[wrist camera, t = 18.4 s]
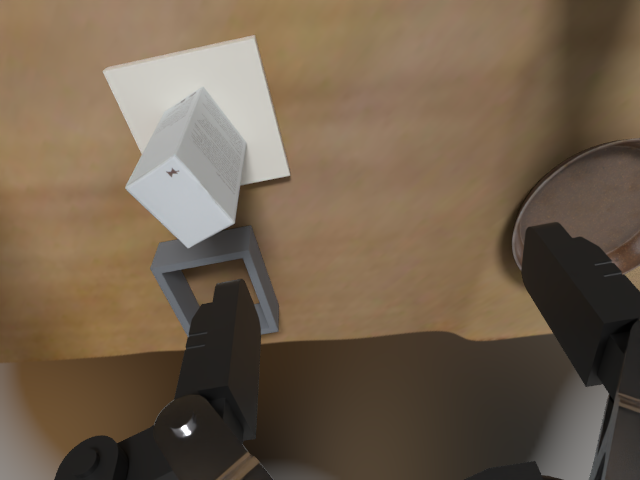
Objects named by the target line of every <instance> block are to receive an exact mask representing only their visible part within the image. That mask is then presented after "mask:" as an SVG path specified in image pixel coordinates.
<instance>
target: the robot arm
mask: <svg viewBox="0 0 640 480" xmlns="http://www.w3.org/2000/svg"><path fill="white" fill-rule="evenodd" d="M521 270H522V278H523V282H524V285H525V287H526V289H527V291H528V293H529V294H530V296H531V298H532V299H533V301H534V303H535V304H536V306H537V307H538V309H539V311H540V312H541V314H542V316H543V317H544V319H545V321H546V322H547V324H548V325H549V327H550V329H551V330H552V332H553V334H554V335H555V337H556V338H557V340H558V342H559V343H560V345H561V347H562V348H563V350H564V352H565V353H566V355H567V356H568V358H569V360H570V361H571V363H572V365H573V366H574V368H575V370H576V371H577V373H578V374H579V376H580V378H581V379H582V381H583V383H584V384H585V386H586V387H587V386H594V385H601V384H603V385H604V386H605V388H606V390H607V391H608V393H609V395H608V398H607V402H606V407H605V411H604V415H603V420H602V425H601V429H600V434H599V439H598V444H597V448H596V453H595V458H594V462H593V466H592V470H591V473H590V477H589V480H640V291H639V290H638V289H637V288H636V287H635V286H634V285H633V284H632V283H631V281H630V280H629V279H628V278H627V277H626V276H625V275H624V274H623V275H622V271H621V270H620V269H619V268H618V267H617V266H616V265H615V263H612V260H611V259H610V258H609V257H608V256H607V255H606V253H605V252H604V251H603V250H602V249H601V248H600V247H599V246H597V245H596V244H594V243H592V242H590V241H589V240H587V239H585V238H583V237H581V236H580V237H575V238H572V237H571V236H570V235H569V233H568V232H567V231H566V230H565V229H564V227H563V226H562V225H561V224H560V223H558V222H552V223H547V224H541V225H536V226H530V227H528V228H527V229H526V232H525V240H524V249H523V259H522V269H521ZM188 335H189V337H188V339H187V343H186V350H185V353H184V357H183V362H182V366H181V371H180V376H179V381H178V385H177V389H176V394H175V398H174V400H173V401H172V402H170V403H169V404H168V405H167V406H166V407H165V408H164V409H163V410H162V411H161V412H160V414H159V415H158V417H157V419H156V421H155V424H154V425H153V426H152V427H150V428H148V429H146V430H144V431H142V432H140V433H138V434H136V435H134V436H132V437H129V438H127V439H125V440H123V441H121V442H119V443H116V442H115V441H114V440H113V439H112V438H110V437H108V436H95V437H91V438H89V439H87V440H85V441H83V442H81V443H80V444H79V445H77V446H76V447H74V449H72V450H71V451H70V452H69V453H68V454H67V456H66V457H65V458H64V460H63V461H62V463H61V464H60V466H59V468H58V471H57V473H56V477H55V479H54V480H273V478H272V477H271V476H270V475H269V473H268V472H267V471H266V470H265V469H264V467H263V466H262V465H261V463H260V462H259V461H258V460H257V459H256V458H255V457H254V456H253V455H250V453H249V452H248V451H247V450H246V449H245V447H244V446H243V441H244V440H250V439H255V438H256V422H257V403H258V384H259V364H260V346H261V327H260V321H259V317H258V314H257V311H256V309H255V306H254V303H253V301H252V298H251V296H250V293H249V291H248V288H247V286H246V283H245V281H244V280H243V279H238V280H233V281H227V282H222V283H217V284H216V287H215V292H214V297H213V302H212V303H207V304H202V305H201V306H200V308H199V309H198V311H197V312H196V314H195V315H194V317H193V318H192V320H191V325H190V330H189V334H188ZM465 480H562V479H559V478H554V477H550V476H544V475H541V473H540V471H539V468H538V466H537V464H536V462H535V461H533V462H527V463H520V464H513V465H507V466H501V467H493V468H488V469H486V470H484V471H482V472H480V473H477V474H475V475H473V476H471V477H469V478H467V479H465Z"/></svg>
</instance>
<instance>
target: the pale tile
mask: <svg viewBox="0 0 640 480" xmlns="http://www.w3.org/2000/svg"><path fill="white" fill-rule="evenodd" d="M103 73H104V75H105V77H106V79H107V81H108V83H109V86H110V88H111V90H112V92H113V94H114V96H115V98H116V100H117V103H118V105H119V107H120V109H121V111H122V113H123V115H124V117H125V120H126V122H127V124H128V126H129V128H130V130H131V132H132V134H133V136H134V139H135V141H136V143H137V145H138V147H139V149H140V151H141V153H142V154H143V152H144V150H145V148H146V146H147V144H148V142H149V140H150V138H151V137H152V135H153V133H154V131H155V129H156V127H157V125H158V123H159V121H160V119H161V117H162V115H163V113H164V112H165V111H167V110H168V109H170V108H171V107H173V106H174V105H176V104H177V103H179V102H180V101H182V100H183V99H184V98H186V97H187V96H189V95H190V94H192V93H194V92H195V91H197V90H198V89H200V88H201V87H204V88H205V89H206V91H207V92H208V93H209V95H210V96H211V97H212V99H213V100H214V101H215V102H216V104H217V105H218V106H219V108H220V109H221V110H222V111H223V113H224V114H225V115H226V117H227V118H228V119H229V121H230V122H231V123H232V124H233V126H234V127H235V128H236V130H237V131H238V132H239V134H240V135H241V136H242V138H243V139H244V140H245V141H246V151H245V158H244V164H243V171H242V177H241V184H240V185H245V184H250V183H255V182H260V181H265V180H270V179H275V178H280V177H285V176H290V168H289V164H288V160H287V156H286V153H285V149H284V145H283V141H282V137H281V133H280V129H279V125H278V122H277V118H276V114H275V110H274V106H273V102H272V98H271V95H270V91H269V87H268V83H267V79H266V75H265V71H264V67H263V64H262V60H261V56H260V52H259V48H258V44H257V40H256V36H255V35H252V36H248V37H243V38H239V39H234V40H229V41H225V42H220V43H216V44H211V45H207V46H202V47H198V48H193V49H188V50H184V51H179V52H175V53H170V54H166V55H161V56H156V57H152V58H147V59H143V60H138V61H134V62H129V63H124V64H120V65H115V66H111V67H107V68H106V69H105V70H104V71H103Z"/></svg>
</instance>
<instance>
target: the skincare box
mask: <svg viewBox="0 0 640 480" xmlns="http://www.w3.org/2000/svg"><path fill="white" fill-rule="evenodd" d="M245 151H246V141H245V140H244V139H243V138H242V136H241V135H240V134H239V132H238V131H237V130H236V128H235V127H234V126H233V124H232V123H231V122H230V121H229V119H228V118H227V117H226V115H225V114H224V113H223V111H222V110H221V109H220V108H219V106H218V105H217V104H216V102H215V101H214V100H213V99H212V97H211V96H210V95H209V93H208V92H207V91H206V89H205V88H204V87H201V88H200V89H198V90H197V91H195V92H194V93H192V94H190V95H189V96H187V97H186V98H184V99H183V100H182V101H180V102H179V103H177V104H176V105H174V106H173V107H171V108H170V109H168V110H167V111H165V112H164V113H163V115H162V117H161V119H160V121H159V123H158V125H157V127H156V129H155V131H154V133H153V135H152V137H151V138H150V140H149V142H148V144H147V146H146V148H145V150H144V152H143V154H142V156H141V158H140V160H139V162H138V163H137V165H136V167H135V169H134V171H133V173H132V175H131V177H130V179H129V181H128V183H127V185H126V190H127V191H128V192H129V193H130V194H131V195H132V196H133V197H134V198H136V199H137V200H138V201H139V202H140V203H141V204H142V205H143V206H144V207H145V208H146V209H147V210H148V211H149V212H150V213H151V214H152V215H153V216H154V217H155V218H157V219H158V220H159V221H160V222H161V223H162V224H163V225H164V226H165V227H166V228H167V229H168V230H169V231H170V232H171V233H172V234H173V235H174V236H175V237H176V238H178V239H179V240H180V241H181V242H182V243H183V244H184V245H185V246H186V247H187V248H190V247H192V246H194V245H195V244H197V243H199V242H201V241H203V240H205V239H207V238H209V237H211V236H213V235H214V234H216V233H218V232H220V231H222V230H224V229H226V228H228V227H229V226H231V225H233V224H235V219H236V212H237V204H238V198H239V191H240V184H241V177H242V171H243V164H244V158H245Z"/></svg>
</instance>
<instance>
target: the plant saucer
mask: <svg viewBox="0 0 640 480" xmlns="http://www.w3.org/2000/svg"><path fill="white" fill-rule="evenodd" d="M552 222H558V223H560V224H561V225H562V226H563V227H564V229H565V230H566V231H567V232H568V233H569V235H570V236H571V237H572V238H575V237H580V236H581V237H583V238H585V239H587V240H589V241H590V242H592V243H594V244H596V245H597V246H599V247H600V248H601V249H602V250H603V251H604V252H605V253H606V255H607V256H608V257H609V258H610V259H611V260H612V263H615V265H616V266H617V267H618V268H619V269H620V270H621V271H622V275H623V274H626V273H628V272H630V271H631V270H633V269H635V268H637V267H638V266H640V138H638V139H625V140H618V141H612V142H608V143H604V144H600V145H597V146H594V147H591V148H589V149H586V150H584V151H582V152H579V153H578V154H576V155H574V156H572V157H570V158H568V159H567V160H565V161H563V162H562V163H560V164H559V165H558V166H556V167H555V168H554V169H552V170H551V171H550V172H549V173H548V174H546V175H545V176H544V177H543V178H542V179H541V180H540V181H539V182H538V183H537V184H536V186H535V187H534V188H533V189H532V191H531V192H530V193H529V195H528V196H527V198H526V199H525V201H524V203H523V205H522V207H521V209H520V211H519V213H518V216H517V219H516V222H515V225H514V230H513V237H512V250H513V255H514V259H515V261H516V263H517V265H518V267H519V269H520V270H521V269H522V259H523V249H524V240H525V232H526V229H527V228H528V227H530V226H536V225H541V224H547V223H552ZM521 271H522V270H521Z"/></svg>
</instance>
